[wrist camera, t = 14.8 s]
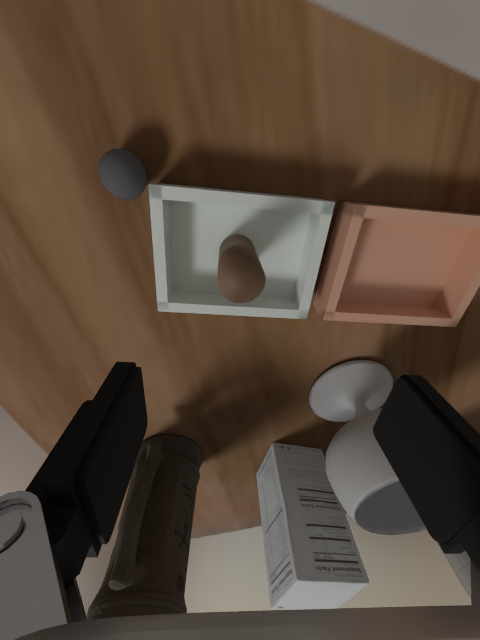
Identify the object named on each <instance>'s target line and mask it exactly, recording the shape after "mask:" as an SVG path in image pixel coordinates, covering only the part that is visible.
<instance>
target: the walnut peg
mask: <svg viewBox="0 0 480 640" xmlns="http://www.w3.org/2000/svg"><path fill="white" fill-rule="evenodd" d="M265 282H266V277H265V273H264V270H263V268H262V265H261V263H260V260H259V258H258V255H257V253H256V250H255V248H254V246H253V243H252V242H251V241H250V239H248V238H247V237H246V236H243V235H239V234H235V235H231V236H229V237H227V238H226V239H225V240H224V241H223V242H222V243H221V246H220V249H219V260H218V274H217V285H218V288H219V291H220V292H221V294H222V295H223V296H224V297H225V298H226V299H228V300H230V301H232V302H235V303H247V302H250V301H252V300H254V299H256V298H257V297H258V296H259V295H260V294H261V293H262V291H263V289H264V287H265Z"/></svg>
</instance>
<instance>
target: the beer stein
mask: <svg viewBox="0 0 480 640" xmlns="http://www.w3.org/2000/svg"><path fill="white" fill-rule="evenodd" d="M201 463H202V452H201V450H200V448H199V446H198V445H197V444H196V443H194V442H193V441H191V440H189V439H187V438H185V437H181V436H176V435H160V436H156V437H153V438H150V439H148V440H146V441H144V442H142V444H141V447H140V451H139V454H138V457H137V460H136V463H135V466H134V469H133V472H132V475H131V481H130V485H129V489H128V493H127V497H126V500H125V504H124V508H123V511H122V515H121V519H120V522H119V527H118V535H117V539H116V543H115V546H114V549H113V551H112V554H111V558H110V562H109V565H108V568H107V572H106V575H105V578H104V580H103V583H102V586H101V588H100V590H99V592H98V593H97V595H96V597H95V599H94V601H93V602H92V604H91V606H90V607H89V610H88V613H87V620H94V619H103V618H111V617H126V616H144V615H162V614H181V613H186V612H187V608H186V605H185V599H184V592H185V582H186V574H187V564H188V556H189V547H190V538H191V530H192V522H193V514H194V506H195V498H196V489H197V484H198V481H199V478H200V473H199V468H200V466H201Z"/></svg>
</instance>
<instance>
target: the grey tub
mask: <svg viewBox="0 0 480 640" xmlns="http://www.w3.org/2000/svg"><path fill="white" fill-rule="evenodd" d="M148 186H149V199H150V213H151V226H152V239H153V253H154V266H155V279H156V292H157V306H158V311H164V312H183V313H201V314H220V315H239V316H257V317H276V318H295V319H307V315H308V311H309V307H310V303H311V299H312V295H313V291H314V287H315V283H316V279H317V275H318V271H319V267H320V262H321V258H322V254H323V250H324V246H325V242H326V238H327V234H328V230H329V226H330V222H331V218H332V214H333V210H334V206H335V202H332V201H328V200H324V199H318V198H308V197H298V196H287V195H277V194H267V193H257V192H246V191H236V190H226V189H215V188H205V187H195V186H184V185H174V184H164V183H154V184H148ZM235 234H239V235H243V236H246V237H247V238H248V239H250V241H251V242H252V243H253V246H254V248H255V250H256V253H257V255H258V258H259V260H260V263H261V265H262V268H263V270H264V273H265V277H266V282H265V287H264V289H263V291H262V293H261V294H260V295H259V296H258V297H257V298H256V299H254V300H252V301H250V302H247V303H235V302H232V301H230V300H228V299H226V298H225V297H224V296H223V295H222V294H221V292H220V291H219V288H218V285H217V274H218V260H219V249H220V246H221V243H222V242H223V241H224V240H225V239H226V238H227V237H229V236H231V235H235Z"/></svg>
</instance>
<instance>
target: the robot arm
mask: <svg viewBox="0 0 480 640" xmlns="http://www.w3.org/2000/svg"><path fill="white" fill-rule="evenodd" d="M146 429H147V412H146V404H145V395H144V387H143V379H142V370H141V367H136V364H135V363H134V362H116V363H115V365H114V366H113V368H112V370H111V371H110V373H109V374H108V376H107V378H106V379H105V381H104V383H103V384H102V386H101V387H100V389H99V391H98V392H97V394H96V395H95V397H94V399H93V400H87V401H85V402H84V403H83V404H82V405H81V407H80V408H79V410H78V411H77V413H76V414H75V416H74V417H73V419H72V420H71V422H70V423H69V425H68V426H67V428H66V430H65V431H64V433H63V434H62V436H61V437H60V439H59V440H58V442H57V443H56V445H55V446H54V448H53V449H52V451H51V452H50V454H49V455H48V457H47V459H46V460H45V462H44V464H43V465H42V466H41V468H40V469H39V471H38V472H37V474H36V475H35V477H34V478H33V480H32V482H31V483H30V484H29V486H28V488H27V489H26V491H17V492H12V493H8V494H5V495H3V496H1V497H0V640H480V434H479V433H478V432H477V431H476V430H475V429H474V428H473V427H472V426H471V425H470V424H469V423H468V422H467V421H466V420H465V419H464V418H463V417H462V416H461V415H460V414H459V413H458V412H457V411H456V410H455V409H454V408H453V407H452V406H451V405H450V404H449V403H448V402H447V401H446V400H445V399H444V398H443V397H442V396H441V395H440V394H439V393H438V392H437V391H436V390H435V389H434V388H433V387H432V386H431V385H430V384H429V383H428V382H427V381H426V380H425V379H424V378H423V377H422V376H419V375H402V376H401V377H400V378H399V379H397V380H396V382H395V384H394V386H393V388H392V390H391V392H390V394H389V396H388V398H387V400H386V402H385V404H384V406H383V408H382V410H381V412H380V414H379V416H378V418H377V420H376V422H375V424H374V427H373V434H374V437H375V439H376V440H377V442H378V444H379V446H380V447H381V449H382V451H383V453H384V455H385V456H386V458H387V460H388V462H389V463H390V465H391V467H392V469H393V470H394V472H395V474H396V476H397V477H398V479H399V481H400V483H401V484H402V486H403V488H404V490H405V492H406V493H407V495H408V497H409V499H410V500H411V502H412V504H413V506H414V507H415V509H416V511H417V513H418V514H419V516H420V518H421V520H422V522H423V523H424V525H425V527H426V529H427V530H428V532H429V534H430V535H431V536H432V538H433V539H434V540H436V541H437V543H438V545H439V546H440V548H441V550H442V551H443V553H444V555H445V556H446V558H447V560H448V562H449V563H450V565H451V567H452V568H453V570H454V572H455V574H456V576H457V577H458V579H459V581H460V582H461V584H462V586H463V587H464V589H465V591H466V592H467V594H468V595H469V597H470V598H471V602H472V605H468V606H418V607H384V608H383V607H381V608H380V607H379V608H341V609H303V610H270V611H239V612H207V613H181V614H162V615H144V616H126V617H111V618H103V619H94V620H87V618H86V614H85V610H84V607H83V603H82V599H81V595H80V592H79V588H78V584H77V580H76V576H77V575H79V574H80V571H81V569H82V566H83V564H84V561H85V558H86V557H98V554H99V551H100V549H101V546H102V544H107V543H108V542H109V540H110V537H111V535H112V532H113V529H114V526H115V523H116V520H117V517H118V514H119V511H120V508H121V505H122V502H123V499H124V496H125V493H126V490H127V487H128V484H129V481H130V478H131V475H132V472H133V469H134V466H135V463H136V460H137V457H138V454H139V451H140V447H141V444H142V441H143V438H144V435H145V432H146Z"/></svg>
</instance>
